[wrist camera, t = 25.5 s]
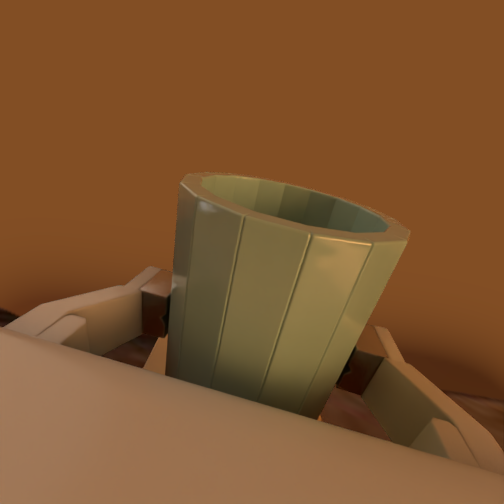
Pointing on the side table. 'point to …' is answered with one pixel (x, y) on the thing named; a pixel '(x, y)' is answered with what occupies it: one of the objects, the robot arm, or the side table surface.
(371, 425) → the side table surface
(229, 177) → the tumbler
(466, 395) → the side table surface
